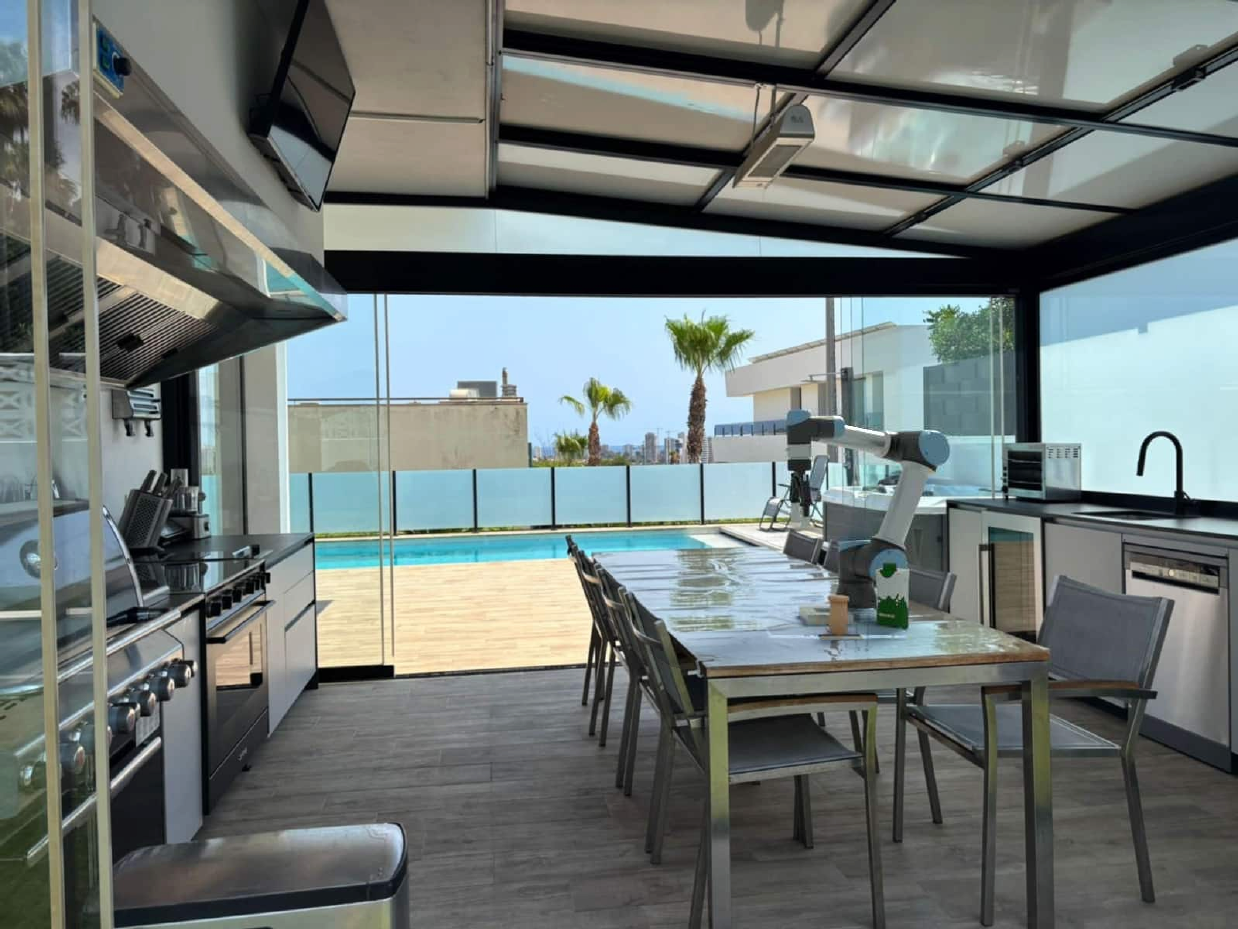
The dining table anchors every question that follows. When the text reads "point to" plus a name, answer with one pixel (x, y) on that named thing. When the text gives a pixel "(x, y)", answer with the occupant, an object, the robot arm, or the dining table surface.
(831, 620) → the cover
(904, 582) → the milk carton
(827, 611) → the housing
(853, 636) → the mat
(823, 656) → the dining table surface
